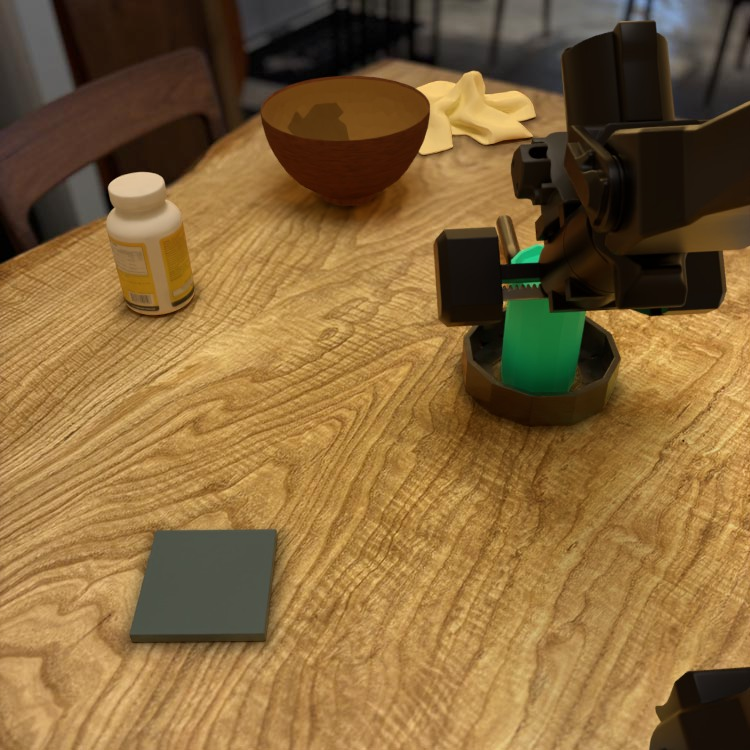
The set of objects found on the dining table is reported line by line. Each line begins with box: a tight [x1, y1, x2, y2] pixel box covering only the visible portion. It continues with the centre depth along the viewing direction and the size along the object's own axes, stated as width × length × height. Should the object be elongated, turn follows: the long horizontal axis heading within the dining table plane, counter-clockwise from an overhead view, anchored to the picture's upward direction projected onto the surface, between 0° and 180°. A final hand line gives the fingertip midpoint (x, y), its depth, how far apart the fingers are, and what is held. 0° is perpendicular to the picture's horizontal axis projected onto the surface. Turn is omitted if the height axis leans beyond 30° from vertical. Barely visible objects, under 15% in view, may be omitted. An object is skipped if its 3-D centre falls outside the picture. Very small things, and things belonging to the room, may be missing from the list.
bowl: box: [260, 75, 430, 207], centre depth 92 cm, size 18×18×10 cm
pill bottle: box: [105, 171, 196, 316], centre depth 75 cm, size 6×6×12 cm
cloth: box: [414, 70, 537, 156], centre depth 108 cm, size 22×19×6 cm
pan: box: [461, 214, 622, 427], centre depth 75 cm, size 28×12×3 cm, turn 1°
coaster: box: [128, 528, 278, 643], centre depth 53 cm, size 8×8×1 cm
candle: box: [499, 244, 587, 392], centre depth 66 cm, size 6×6×12 cm
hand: (547, 296), depth 65 cm, fingers open, 9 cm apart
